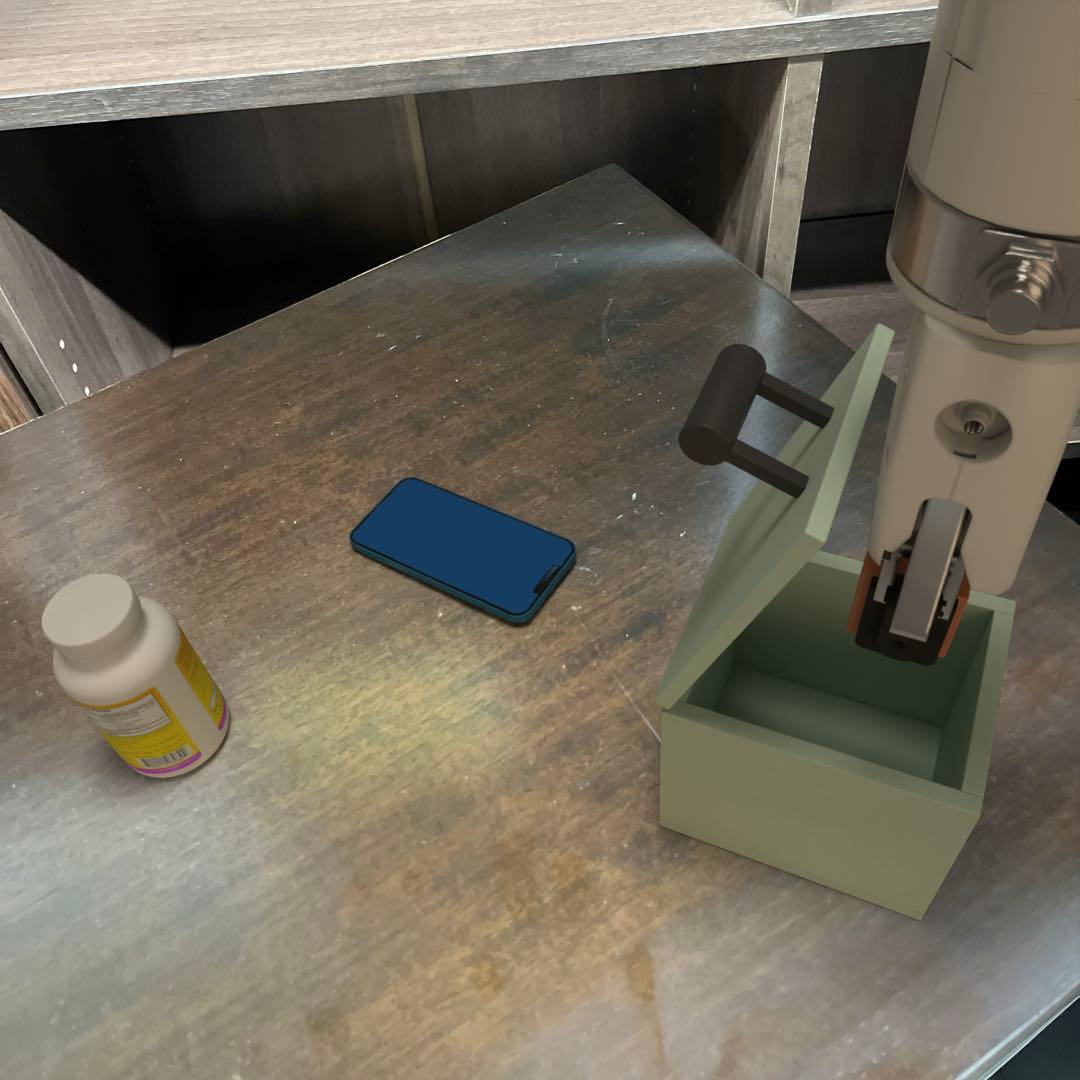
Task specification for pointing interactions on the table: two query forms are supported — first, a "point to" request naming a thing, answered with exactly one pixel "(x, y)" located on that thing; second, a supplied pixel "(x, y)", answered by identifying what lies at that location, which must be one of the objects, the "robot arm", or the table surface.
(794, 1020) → the table surface
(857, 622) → the block
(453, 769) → the table surface
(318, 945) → the table surface
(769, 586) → the box lid
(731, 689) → the green box
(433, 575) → the smartphone
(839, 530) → the table surface
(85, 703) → the supplement bottle
